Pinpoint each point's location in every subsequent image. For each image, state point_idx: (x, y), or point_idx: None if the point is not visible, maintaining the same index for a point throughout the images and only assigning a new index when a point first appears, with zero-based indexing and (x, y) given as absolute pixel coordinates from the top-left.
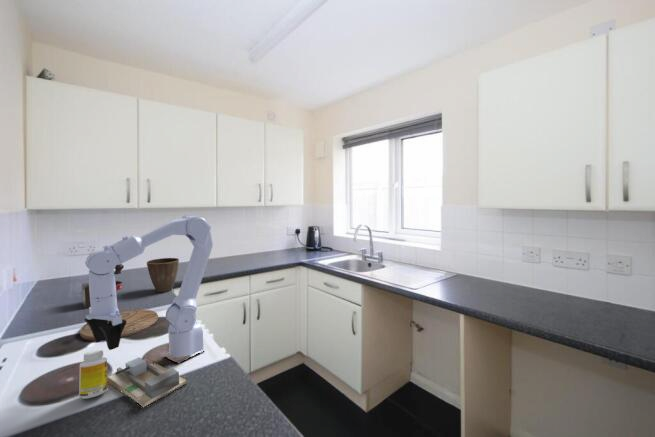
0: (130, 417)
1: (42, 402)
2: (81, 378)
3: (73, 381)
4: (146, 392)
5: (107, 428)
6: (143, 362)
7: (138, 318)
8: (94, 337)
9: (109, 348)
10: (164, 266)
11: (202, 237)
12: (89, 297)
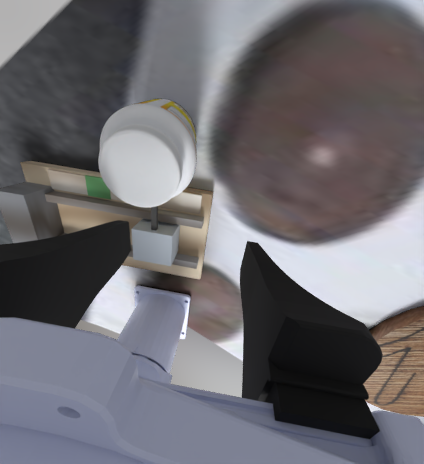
0: (18, 128)
1: (278, 39)
2: (145, 101)
3: (299, 152)
4: (41, 187)
5: (9, 76)
6: (133, 253)
7: (411, 388)
8: (258, 251)
9: (114, 221)
10: None
11: None
12: None
